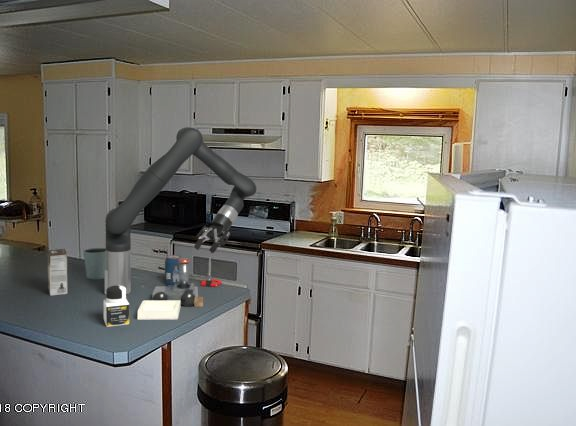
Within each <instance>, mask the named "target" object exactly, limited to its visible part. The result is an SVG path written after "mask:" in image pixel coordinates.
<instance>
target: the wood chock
mask: <svg viewBox="0 0 576 426" xmlns="http://www.w3.org/2000/svg"><path fill="white" fill-rule="evenodd" d="M194 307H196V308H197V307H201V308H202V307H204V296H198V297H195V305H194Z"/></svg>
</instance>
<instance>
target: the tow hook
mask: <svg viewBox="0 0 576 426" xmlns="http://www.w3.org/2000/svg"><path fill="white" fill-rule="evenodd" d="M207 263H208V264H207V274H206V275H207V277H206V279H204V280H202V281H201V282H200V286H204V287H210V288H211V287H214V288H216V287H217V286H220V285H222V280H219V279H212V274H211V273H212V256H211V255H209V256H208V262H207Z"/></svg>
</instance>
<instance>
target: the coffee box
mask: <svg viewBox="0 0 576 426" xmlns="http://www.w3.org/2000/svg"><path fill="white" fill-rule="evenodd" d="M46 254H47V284H48V285H47V288H48V292H49V296H57V295H58V296H59V295H60V296H61V295H67V294H68V253H67V251H66V249H65V248H59V249H58V248H57V249H47V253H46Z"/></svg>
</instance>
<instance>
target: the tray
mask: <svg viewBox="0 0 576 426" xmlns="http://www.w3.org/2000/svg"><path fill="white" fill-rule="evenodd" d="M180 311H181V300H152V299H150V300H149V299H147V300H145V299H144V300H142V302H141V304H140V305H139V307H138V309H137V320H145V321H146V320H148V321H149V320H178V319H179V316H180Z"/></svg>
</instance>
